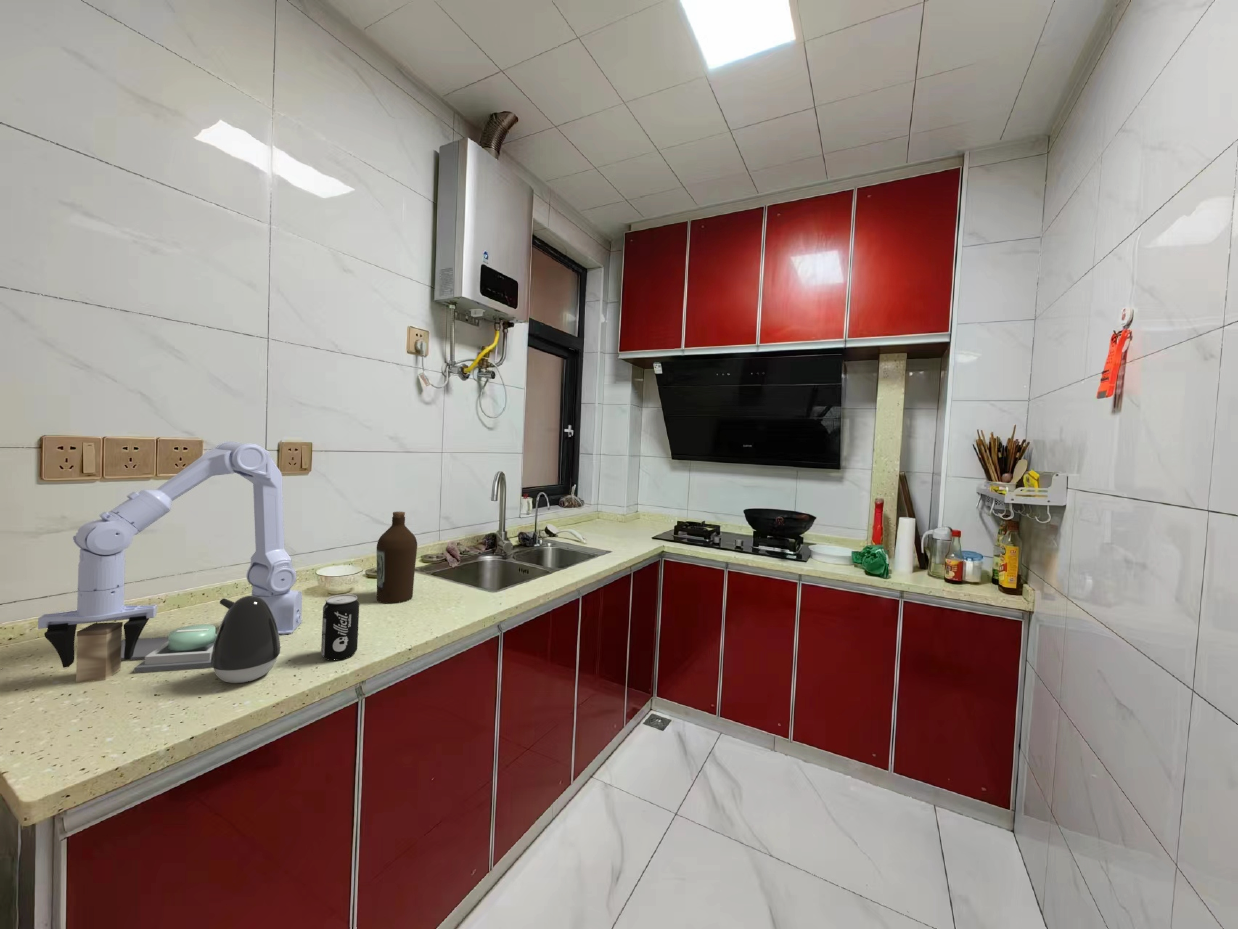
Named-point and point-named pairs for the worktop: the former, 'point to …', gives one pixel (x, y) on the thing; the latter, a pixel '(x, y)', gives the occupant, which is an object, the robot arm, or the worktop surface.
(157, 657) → the switch panel
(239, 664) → the pump dispenser
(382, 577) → the olive oil
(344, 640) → the beverage can
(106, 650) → the wooden rectangular block
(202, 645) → the button
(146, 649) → the mat
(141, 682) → the worktop surface
